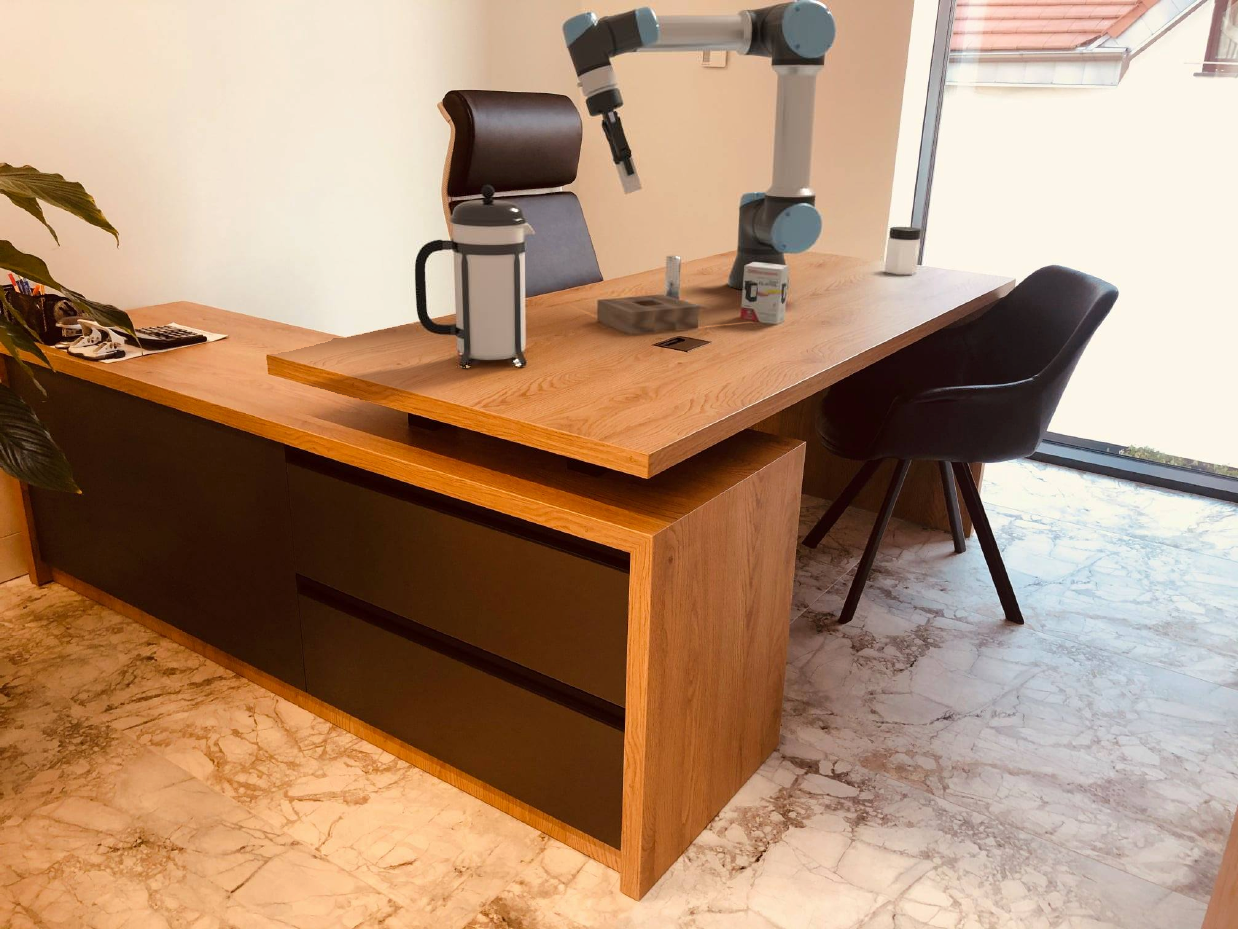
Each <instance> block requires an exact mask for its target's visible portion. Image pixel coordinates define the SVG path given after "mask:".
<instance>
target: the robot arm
mask: <svg viewBox="0 0 1238 929" xmlns="http://www.w3.org/2000/svg"><path fill="white" fill-rule="evenodd" d="M836 30H837V29H836V20H835V18H834V16H833V13H832V12H831V11H830V10H829V8H828V7H827V6H826V5H825V4H823V3H822V2H820V1H818V0H794V1H789V2H784V3H782V2H781V3H778V4H774V5H769V6H766V7H765V6H764V7H761V8H757V9H755V8H754V9H742V10H740V11H739V12H738V13H737V14H708V15H707V14H705V15H704V14H703V15H701V14H699V15H697V14H696V15H695V14H694V15H691V14H690V15H656V14H655V11H654V10H653V9H652V8H650V6H643V7H639V8H634V9H633V10H632V9H631V10H629V11H626V12H622V13H618V14H617V13H616V14H613V15H609V16H608V15H605V16H602V17H600V18H599V19H598V17H597V16H596V14H595V13H594V12H592V11H589V12H583V13H580V14H577V15H574V16H573V17H570V18H569V19H567V20H565V22H564V23H563V24H562V33H563V37H564V40H565V44H566V49H567V51H568V53H569V56H570V59H571V61H572V65H573V67H574V70H575V73H576V76H577V79H578V82H577V84H576V86H577V88H581V91H582V94H583V96H584V97H586V99H585V101H584V102H585V105H586V107H587V111H588V113H589V116H590V117H597V116H600V115H601V116H602V120H601V128H602V132H604V135H605V139H606V141H607V142H608V144H609V145H608V146H609V148H610V152H611V155H612V160H613V161H612V162H614V164H615V167H616V170H617V174H618V176H619V177H618V178H620V182H621V186H622V188H623V191H624V195H627V194H631V193H633V192H636V191H639V190H642V189H643V187H642V184H641V181H640V177H639V175H638V172H637V169H636V168H637V167H636V165H635V162H634V159H633V157H632V150H631V149H630V146H629V143H628V140H627V138H626V135H625V132H624V128H623V125H622V119H621V117H620V116H619V115H618V114H619V113H618V111H617V109H619V108H621V107H623V106H624V101H623V98H622V94H621V92H620V89H619V88H618V87H617V85H618V81H617V78H616V75H615V72H614V69H613V65H612V62H611V59H612V58H614V57H616V56H617V57H618V56H620V55H623V54H627V53H631V54H633V53H670V52H673V53H674V52H676V53H678V52H679V53H680V52H727V51H728V52H736V53H737V54H738V55H739V56H758V57H764V58H771V63H770V66H771V68H772V70H773V71H774V72H775V73H776V75H777V82H776V83H777V84H776V100H775V101H776V104H775V119H774V120H775V122H774V137H773V138H774V141H773V157H772V158H773V161H772V178H771V186H770V187H769V188H768V189H767V190H766V191H757V192H756V191H755V192H745V193H743V194H742V195H741V197H740V203H739V207H738V210H739V211H738V212H739V213H738V231H737V247H736V248H737V249H736V250H737V251H736V256H735V260H734V261H733V265H732V268H731V270H730V272H729V275H728V281H727V282H728V284H727V285H728V287H730V288H734V289H738V290H743V278H744V266H745V265H747V264H750V263H752V262H759V263H768V264H778V265H786V266H787V264H786V260H785V254H793V255H797V254H802V253H804V252H806V251H808V250H809V249H811V248H812V247H813V246H814V245H815V244H816V243H817V241H818V240H819V238H820V235H821V232H822V227H823V220H822V217H821V214H820V213H819V211H818V209H817V208H816V207H815V206H816V205H815V204H816V192H815V191H814V190H813V188H812V187H811V185H810V180H811V165H812V150H813V136H814V133H813V132H814V118H815V105H816V102H815V100H816V90H817V89H816V86H817V77H818V75H819V73H820V72H821V71H822V70H823V69H824V68H825V60H826V59H825V58H826V53H827V52H828V51H829V49H830V48H831V47H832V45H833V44H834V40H835V38H836ZM610 58H611V59H610ZM789 285H790V278H789V276H788V283H787V289H788V288H790V286H789Z"/></svg>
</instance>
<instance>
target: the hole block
mask: <svg viewBox="0 0 1238 929" xmlns="http://www.w3.org/2000/svg"><path fill="white" fill-rule="evenodd" d="M685 301H686V300H683V301H682V300H681V299H680V298H679V299H676V298H673V297H670V296H667V295H665V293H664V294H663V293H662V294H652V295H641V296H639V295H638V296H628V297H617V298H616V297H615V298H604V299H597V311H596V312H597V313H596V314H597V315H596V317H597V318H596V319H597V320H596V321H597V322H598V323H601V324H603V325H605V326H607V327H610V328H612V329H616V330H618V331H620V332H622V333H625V334H627V335H629V336H631V335H632V336H633V335H643V334H644V335H645V334H654V333H662V332H671V331H672V332H673V331H674V332H675V331H683V330H684V331H685V330H691V329H692V330H693V329H698V328H699V317H700V316H699V315H700V309H699V306H700V305H698V304H695V303H692V302H689V301H686V302H685ZM688 302H689V303H688ZM691 303H692V304H691ZM694 304H695V305H694ZM697 305H698V306H697Z"/></svg>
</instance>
